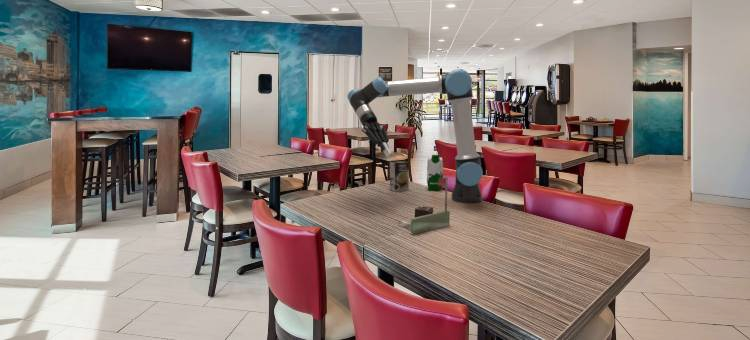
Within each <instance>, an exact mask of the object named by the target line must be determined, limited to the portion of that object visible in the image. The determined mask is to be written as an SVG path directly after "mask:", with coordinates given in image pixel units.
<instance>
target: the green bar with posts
mask: <svg viewBox="0 0 750 340" xmlns="http://www.w3.org/2000/svg"><path fill="white" fill-rule="evenodd" d="M448 180H449V177H447V176H446V177H443V178H441V179H438V186H442V187H443V186H445V190H444V191H445V192H444V195H445V196H444V197H445V198H444V199H445V200H444V210H441V211H437V212H433V214H428V215H424V216H420V217H416V218H415V217H413V218H412V217H411V218H410V222H407V221H405V220H398V226H399V227H402V228H405V229H408V230H410V234H411V235H417V234H422V233H425V232H429V231H433V230H436V229H440V228H444V227H447V226H450V222H451V221H450V220H451V219H450V218H451V217H450V215H451V213H450V212H451V211H450V210H448V186H449V185H448V183H449V181H448Z"/></svg>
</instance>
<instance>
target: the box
mask: <svg viewBox="0 0 750 340" xmlns="http://www.w3.org/2000/svg"><path fill="white" fill-rule="evenodd" d="M433 213H434V207H432V206H424V205H419V206H417V207H415V208H414V218H416V217H420V216H424V215H428V214H433Z"/></svg>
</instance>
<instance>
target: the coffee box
mask: <svg viewBox="0 0 750 340" xmlns="http://www.w3.org/2000/svg"><path fill="white" fill-rule="evenodd" d="M409 179H410V162H409V161H405V160H399V161H390V162H389V190H390V191H392V192H395V193H396V192H397V193H398V192H404V191H405V192H406V191H409V189H410V187H409V184H410V183H409V181H410V180H409Z"/></svg>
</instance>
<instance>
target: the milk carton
mask: <svg viewBox="0 0 750 340" xmlns="http://www.w3.org/2000/svg"><path fill="white" fill-rule="evenodd" d="M426 164H427V165H426V184H427V185H426V186H427V190H428V191H429V192H441V191H442V187H443V185H442V186H438V179H441V178H444V177H443V174H444V160H443V157H440V155H439V154H432V155H431V157H427V163H426Z"/></svg>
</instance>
